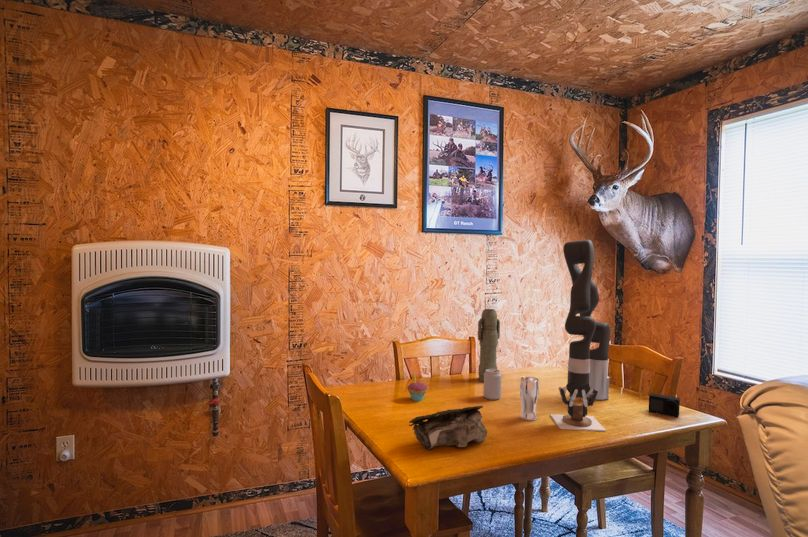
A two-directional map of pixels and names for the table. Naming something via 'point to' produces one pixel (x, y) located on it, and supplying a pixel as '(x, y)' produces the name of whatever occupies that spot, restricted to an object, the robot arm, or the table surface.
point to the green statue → (488, 341)
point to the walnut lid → (577, 417)
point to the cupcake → (417, 390)
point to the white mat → (562, 425)
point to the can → (492, 384)
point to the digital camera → (664, 405)
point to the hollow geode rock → (450, 428)
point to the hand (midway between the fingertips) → (577, 415)
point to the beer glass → (529, 397)
